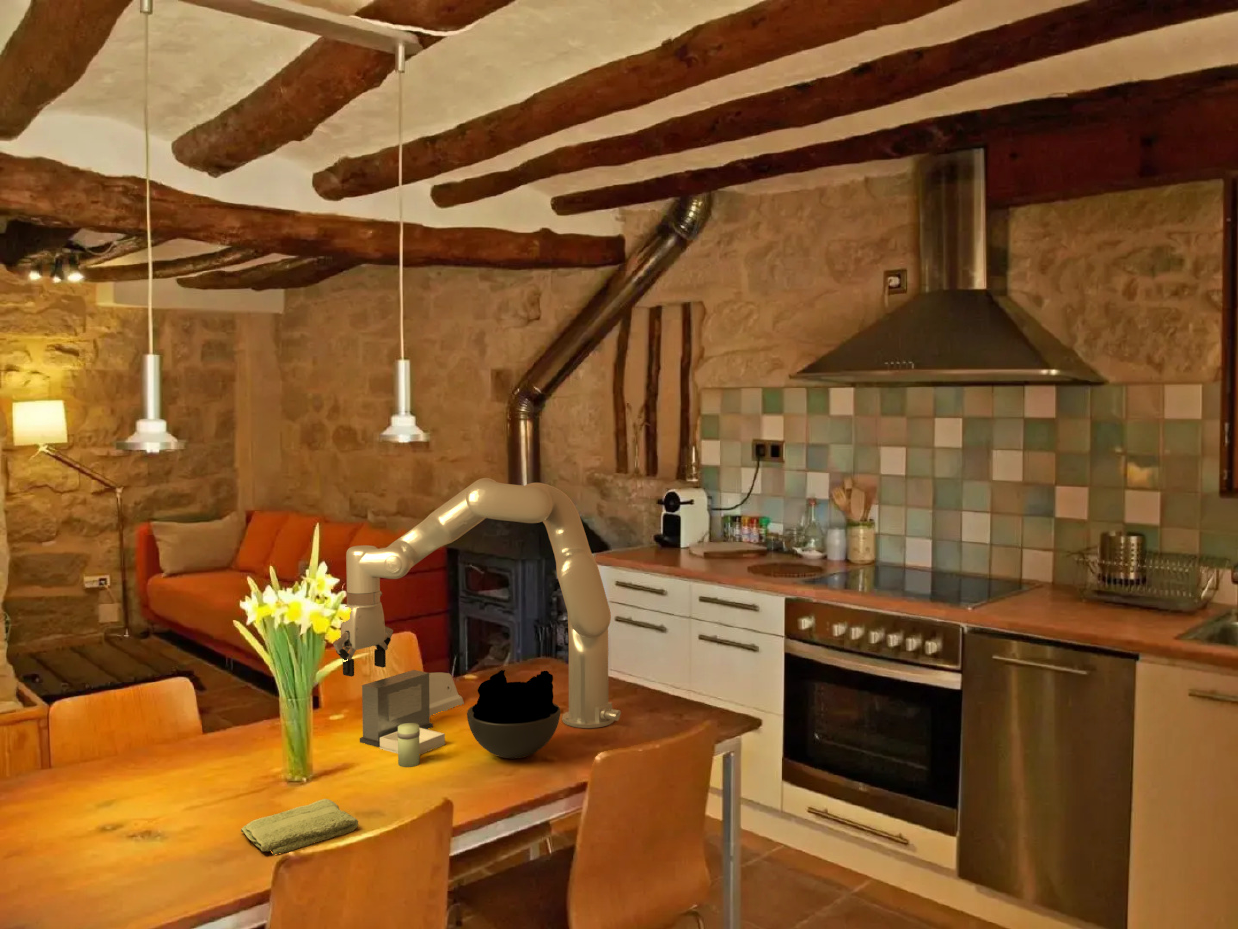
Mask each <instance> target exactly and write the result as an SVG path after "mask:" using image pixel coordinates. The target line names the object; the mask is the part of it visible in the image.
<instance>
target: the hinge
mask: <svg viewBox="0 0 1238 929" xmlns="http://www.w3.org/2000/svg"><path fill="white" fill-rule="evenodd" d="M428 673H429V709H430V717H432V716H431V715H433V714H435V715H437V714H436V713H438V712H441V711H444V712H446V711H448V709H449V710H451V709H450V708H452V709H454V708H453V707H455V706H457V705H460V706H462V704H463V705H465V702H464V698H463V697H462V696H461V695H459V693H458V690H457V687H456V684H455V681H454V679H453V677H452V675H451V673H448V672H428ZM455 708H456V707H455ZM441 713H442V712H441ZM438 714H439V713H438ZM433 716H434V715H433Z"/></svg>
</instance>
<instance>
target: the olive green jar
mask: <svg viewBox="0 0 1238 929" xmlns="http://www.w3.org/2000/svg"><path fill="white" fill-rule="evenodd" d="M397 736H398V754H397V762H398V764H397V765H398V766H399V767H402V768H411V767H416V766H419V765H420V755H419V736H420V730H419V725H418V724H416V723H405V724H401V725H399V726H398V731H397Z"/></svg>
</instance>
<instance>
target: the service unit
mask: <svg viewBox="0 0 1238 929" xmlns="http://www.w3.org/2000/svg"><path fill="white" fill-rule="evenodd" d="M429 673H430V672H427V671H421V670H417V669H416V670H415V669H412V670H409V671H405V672H403V673H399V674H395V675H392V676H388V677H385V678H382V679H378V680H375V681H371V682H367V683H365V684H362V685H361V698H362V704H361V705H362V706H361V707H362V708H361V710H362V736H361V737H359V743H360V744H364V743H365V745H368V746H372V747H376V748H380V737H383V736H386V735H389V734H391V733H394V732H397V731H398V726H399V725H401V724H405V723H416V724H418V725H419V728H423V729H427V730H429V729H428V728H430V729H432V728H434V726H433V725H434V723H433V722H430V720H431V718H430V717H431V716H430V709H429ZM431 727H432V728H431Z"/></svg>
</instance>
